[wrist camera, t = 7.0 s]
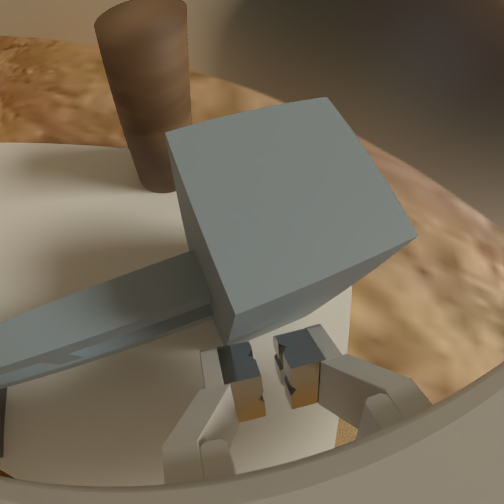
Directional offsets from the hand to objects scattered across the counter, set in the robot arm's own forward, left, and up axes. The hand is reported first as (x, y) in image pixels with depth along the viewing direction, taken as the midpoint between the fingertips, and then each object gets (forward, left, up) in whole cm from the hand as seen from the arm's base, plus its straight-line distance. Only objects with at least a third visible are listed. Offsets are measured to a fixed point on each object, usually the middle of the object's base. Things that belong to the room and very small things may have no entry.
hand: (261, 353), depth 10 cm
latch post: (-6, +9, -5) cm, 12 cm away
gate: (-8, -1, -4) cm, 9 cm away
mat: (-8, 0, -5) cm, 9 cm away
